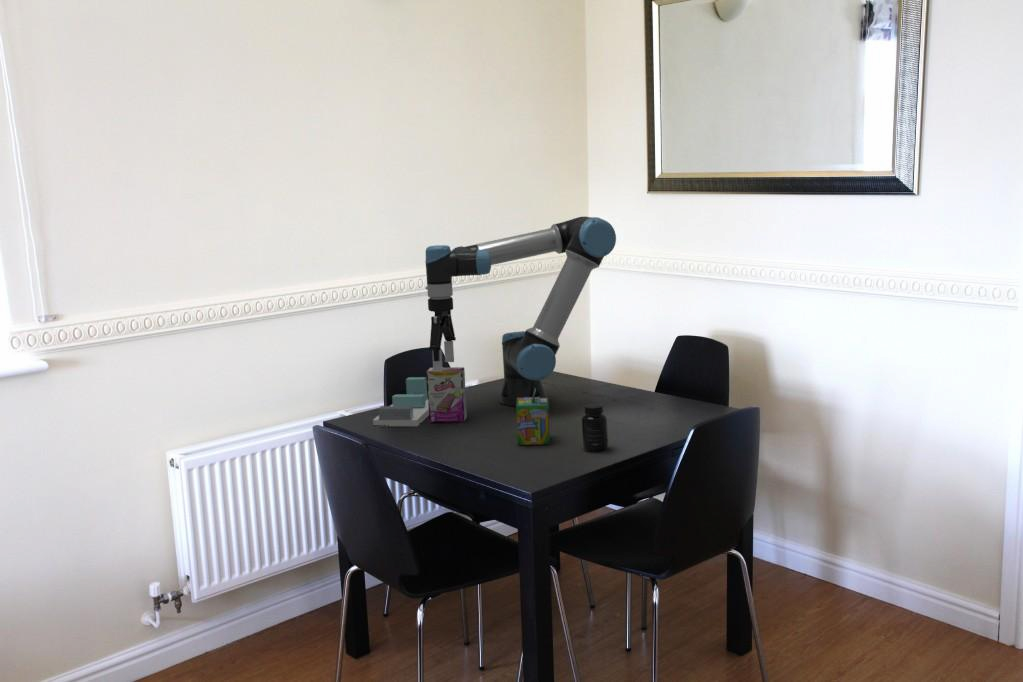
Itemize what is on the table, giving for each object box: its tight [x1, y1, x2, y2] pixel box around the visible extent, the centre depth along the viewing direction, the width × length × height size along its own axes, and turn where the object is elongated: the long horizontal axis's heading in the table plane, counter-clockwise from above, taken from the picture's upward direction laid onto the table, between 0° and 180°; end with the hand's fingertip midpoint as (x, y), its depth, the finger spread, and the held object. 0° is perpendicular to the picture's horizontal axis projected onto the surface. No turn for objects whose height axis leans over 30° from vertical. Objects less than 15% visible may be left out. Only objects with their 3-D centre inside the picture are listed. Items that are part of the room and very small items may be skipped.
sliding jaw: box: [391, 376, 428, 407], centre depth 301 cm, size 12×10×7 cm
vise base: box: [372, 398, 429, 427], centre depth 295 cm, size 26×14×6 cm, turn 169°
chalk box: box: [515, 388, 551, 446], centre depth 260 cm, size 9×9×15 cm
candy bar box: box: [426, 366, 468, 423], centre depth 285 cm, size 11×5×16 cm, turn 84°
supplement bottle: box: [581, 403, 609, 453], centre depth 250 cm, size 7×7×12 cm
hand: (443, 366), depth 283 cm, fingers open, 13 cm apart
